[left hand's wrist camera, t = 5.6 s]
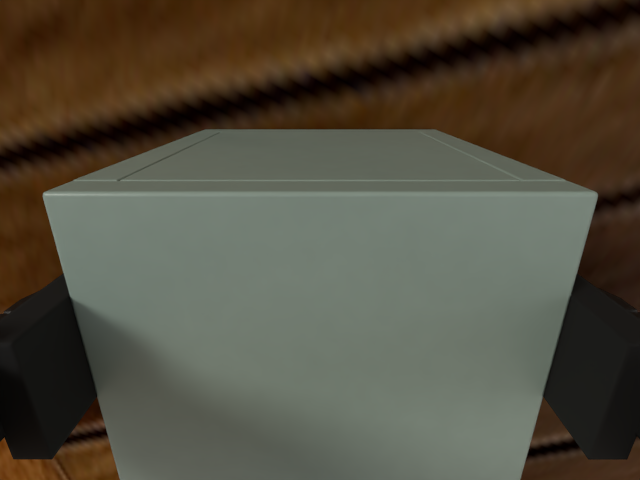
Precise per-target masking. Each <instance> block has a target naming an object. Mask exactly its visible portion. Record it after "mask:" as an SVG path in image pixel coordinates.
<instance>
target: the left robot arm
mask: <svg viewBox="0 0 640 480" xmlns="http://www.w3.org/2000/svg"><path fill="white" fill-rule="evenodd" d="M96 397H97V393H96V390H95V386H94V382H93V379H92V375H91V371H90V368H89V364H88V360H87V357H86V353H85V349H84V346H83V342H82V338H81V335H80V331H79V327H78V324H77V320H76V316H75V313H74V309H73V305H72V302H71V298H70V294H69V291H68V287H67V283H66V280H65V276H64V273H63V274H62V275H61V276H59V277H58V278H57V279H55V280H54V281H53V282H51V283H50V284H48V285H47V286H46V287H44V288H43V289H42V290H40V291H38V292H36V293H34V294H32V295H29V296H27V297H25V298H23V299H21V300H19V301H18V302H17V303H15V304H14V305H12V306H11V307H10V308H8V309H7V310H5V311H4V314H0V441H1V440H2V439H3V438H4V437H5V440H6V442H7V444H8V447H9V449H10V452H11V454H12V457H13V459H52V458H53V457H54V456H55V454H56V453H57V452H58V450H59V449H60V447H61V446H62V445H63V443H64V442H65V440H66V439H67V438H68V436H69V435H70V433H71V432H72V431H73V429H74V428H75V426H76V425H77V424H78V422H79V421H80V419H81V418H82V417H83V415H84V414H85V412H86V411H87V410H88V408H89V407H90V406H91V404H92V403H93V401H94V400H95V399H96ZM543 397H544V398H545V399H546V401H547V402H548V404H549V405H550V406H551V408H552V409H553V410H554V412H555V413H556V415H557V416H558V417H559V419H560V420H561V422H562V423H563V424H564V426H565V427H566V429H567V430H568V431H569V433H570V434H571V436H572V437H573V438H574V440H575V441H576V443H577V444H578V445H579V447H580V448H581V450H582V451H583V452H584V454H585V455H586V456H587V458H588V459H627V458H628V456H629V453H630V451H631V448H632V446H633V444H634V441H635V439H636V436H638V437H639V439H640V312H637V310H636V309H635V308H634V307H632V306H631V305H629V304H628V303H627V302H625V301H624V300H622V299H621V298H619V297H617V296H615V295H612V294H610V293H608V292H606V291H604V290H602V289H599V288H596V287H595V286H593V285H592V284H591V283H589V282H588V281H587V280H585V279H584V278H582V277H581V276H580V275H578V274H577V275H576V278H575V282H574V286H573V289H572V293H571V297H570V300H569V304H568V308H567V311H566V315H565V318H564V322H563V326H562V329H561V333H560V337H559V340H558V344H557V348H556V351H555V355H554V359H553V362H552V366H551V370H550V373H549V377H548V380H547V384H546V388H545V391H544V395H543Z"/></svg>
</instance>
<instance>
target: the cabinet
mask: <svg viewBox="0 0 640 480" xmlns="http://www.w3.org/2000/svg"><path fill="white" fill-rule="evenodd" d="M597 198H598V194H597V192H595V191H592V190H590V189H587V188H584V187H582V186H579V185H577V184H574V183H572V182H569V181H566V180H564V179H562V178H559V177H557V176H554V175H552V174H549V173H546V172H544V171H541V170H539V169H536V168H533V167H531V166H528V165H526V164H523V163H520V162H518V161H515V160H513V159H510V158H507V157H505V156H502V155H500V154H497V153H494V152H492V151H489V150H487V149H484V148H482V147H479V146H476V145H474V144H471V143H469V142H466V141H463V140H461V139H458V138H456V137H453V136H450V135H448V134H445V133H443V132H440V131H437V130H417V129H205V130H203V131H200V132H197V133H195V134H192V135H189V136H187V137H184V138H182V139H179V140H176V141H174V142H171V143H169V144H166V145H163V146H161V147H158V148H156V149H153V150H150V151H148V152H145V153H143V154H140V155H137V156H135V157H132V158H130V159H127V160H124V161H122V162H119V163H117V164H114V165H111V166H109V167H106V168H104V169H101V170H98V171H96V172H93V173H91V174H88V175H85V176H83V177H80V178H78V179H75V180H73V181H71V182H69V183H66V184H64V185H61V186H59V187H56V188H53V189H51V190H48V191H46V192H44V193H43V199H44V203H45V206H46V210H47V214H48V217H49V221H50V225H51V228H52V232H53V236H54V239H55V243H56V247H57V250H58V254H59V258H60V261H61V265H62V269H63V272H64V276H65V280H66V283H67V287H68V291H69V294H70V298H71V302H72V305H73V309H74V313H75V316H76V320H77V324H78V327H79V331H80V335H81V338H82V342H83V346H84V349H85V353H86V357H87V360H88V364H89V368H90V371H91V375H92V379H93V382H94V386H95V390H96V393H97V397H98V401H99V404H100V408H101V412H102V415H103V419H104V423H105V426H106V430H107V434H108V437H109V441H110V445H111V448H112V452H113V456H114V459H115V463H116V467H117V470H118V474H119V478H120V480H520V479H521V475H522V472H523V468H524V464H525V461H526V457H527V453H528V450H529V446H530V443H531V439H532V435H533V432H534V428H535V424H536V421H537V417H538V413H539V410H540V406H541V402H542V399H543V395H544V391H545V388H546V384H547V380H548V377H549V373H550V370H551V366H552V362H553V359H554V355H555V351H556V348H557V344H558V340H559V337H560V333H561V329H562V326H563V322H564V318H565V315H566V311H567V308H568V304H569V300H570V297H571V293H572V289H573V286H574V282H575V278H576V275H577V271H578V267H579V264H580V260H581V256H582V253H583V249H584V245H585V242H586V238H587V235H588V231H589V227H590V224H591V220H592V216H593V213H594V209H595V205H596V202H597Z"/></svg>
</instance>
